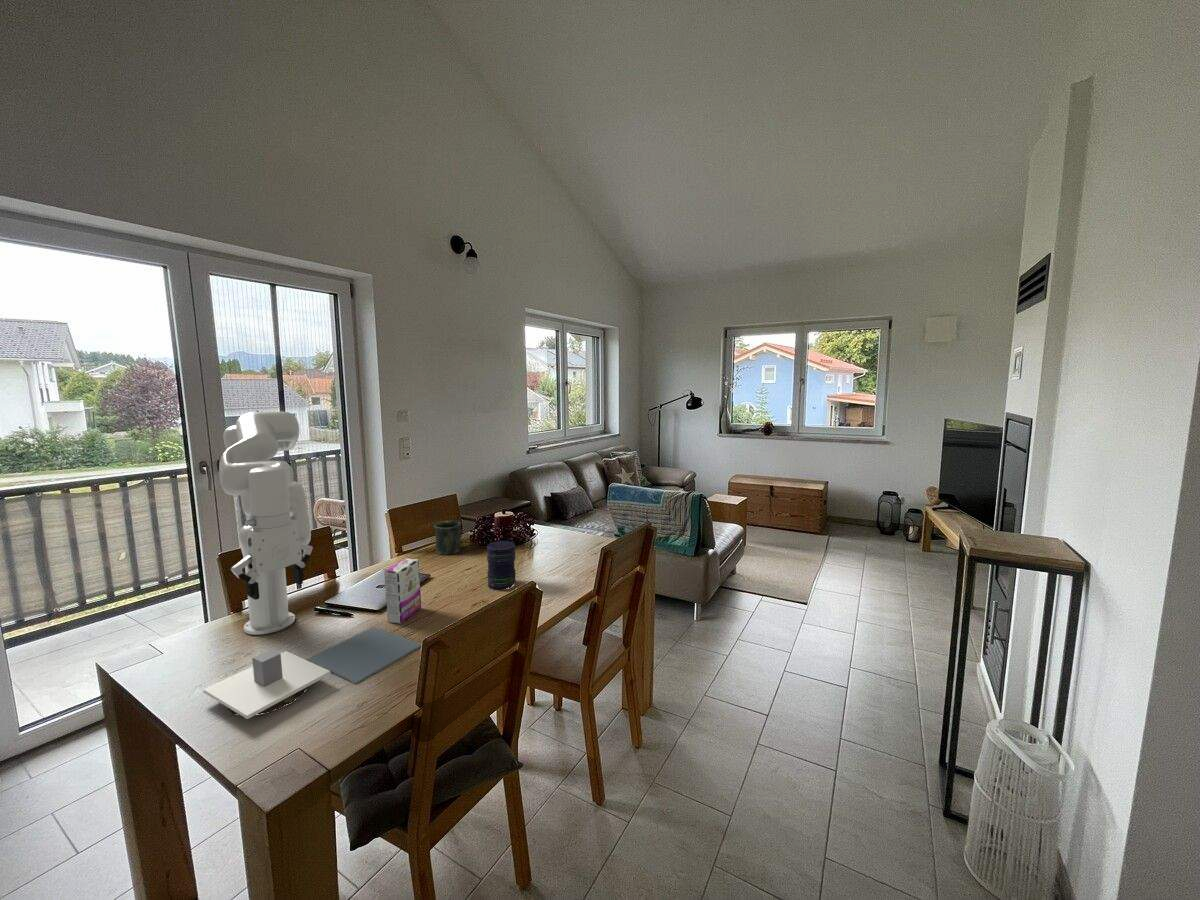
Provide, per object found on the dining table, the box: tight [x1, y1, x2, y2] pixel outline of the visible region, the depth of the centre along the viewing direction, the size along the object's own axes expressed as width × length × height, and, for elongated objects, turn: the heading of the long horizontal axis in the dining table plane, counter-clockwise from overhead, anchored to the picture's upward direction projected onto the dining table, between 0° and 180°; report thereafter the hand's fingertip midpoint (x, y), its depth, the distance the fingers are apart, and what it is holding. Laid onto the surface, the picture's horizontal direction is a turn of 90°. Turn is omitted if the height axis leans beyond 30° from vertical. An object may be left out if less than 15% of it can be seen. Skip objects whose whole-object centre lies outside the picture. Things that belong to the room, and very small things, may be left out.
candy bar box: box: [384, 558, 422, 625], centre depth 152 cm, size 11×5×16 cm, turn 168°
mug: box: [433, 520, 463, 556], centre depth 212 cm, size 11×15×12 cm
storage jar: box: [486, 540, 516, 591], centre depth 175 cm, size 10×10×15 cm
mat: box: [305, 626, 422, 685], centre depth 131 cm, size 20×20×1 cm
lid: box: [202, 648, 331, 720], centre depth 113 cm, size 18×18×7 cm
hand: (276, 590), depth 116 cm, fingers open, 9 cm apart
